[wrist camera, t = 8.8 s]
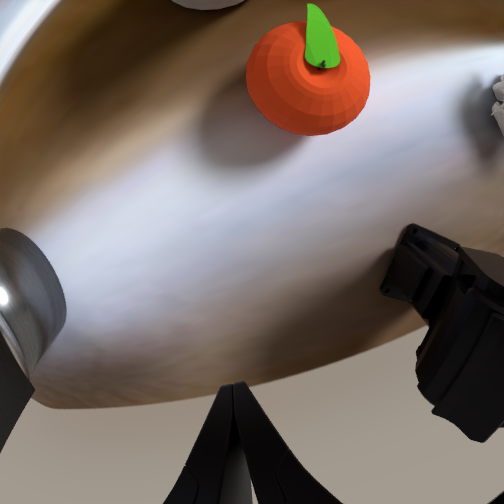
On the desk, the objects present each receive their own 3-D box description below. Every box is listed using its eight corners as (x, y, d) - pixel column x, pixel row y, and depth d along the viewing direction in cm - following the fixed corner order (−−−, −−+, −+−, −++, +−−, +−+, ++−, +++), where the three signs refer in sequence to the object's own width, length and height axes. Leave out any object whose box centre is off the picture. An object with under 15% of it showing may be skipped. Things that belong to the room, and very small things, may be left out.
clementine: (242, 29, 15) (240, -18, 9) (342, 32, 15) (382, -5, 8) (248, 136, 18) (248, 137, 12) (349, 136, 18) (397, 141, 12)
